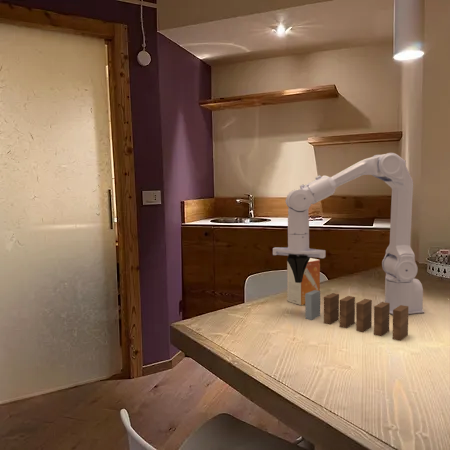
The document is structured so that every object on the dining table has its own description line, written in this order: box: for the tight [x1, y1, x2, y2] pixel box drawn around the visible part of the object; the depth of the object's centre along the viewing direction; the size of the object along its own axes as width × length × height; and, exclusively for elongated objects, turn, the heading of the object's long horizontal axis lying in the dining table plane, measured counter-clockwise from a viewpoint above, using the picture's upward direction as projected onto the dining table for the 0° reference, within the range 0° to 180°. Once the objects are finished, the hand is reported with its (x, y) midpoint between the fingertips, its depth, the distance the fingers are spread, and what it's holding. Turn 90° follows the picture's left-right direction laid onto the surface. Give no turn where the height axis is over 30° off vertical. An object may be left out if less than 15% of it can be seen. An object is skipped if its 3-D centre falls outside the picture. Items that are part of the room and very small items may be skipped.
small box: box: [286, 257, 321, 306], centre depth 132 cm, size 8×6×13 cm
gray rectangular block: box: [304, 290, 321, 321], centre depth 117 cm, size 2×5×7 cm, turn 138°
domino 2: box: [339, 295, 356, 329], centre depth 110 cm, size 2×5×7 cm, turn 138°
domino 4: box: [373, 301, 390, 337], centre depth 104 cm, size 2×5×7 cm, turn 138°
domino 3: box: [355, 298, 373, 333], centre depth 107 cm, size 2×5×7 cm, turn 138°
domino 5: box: [392, 305, 409, 342], centre depth 101 cm, size 2×5×7 cm, turn 138°
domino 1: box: [323, 292, 340, 325], centre depth 113 cm, size 2×5×7 cm, turn 138°
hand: (298, 281), depth 120 cm, fingers closed
